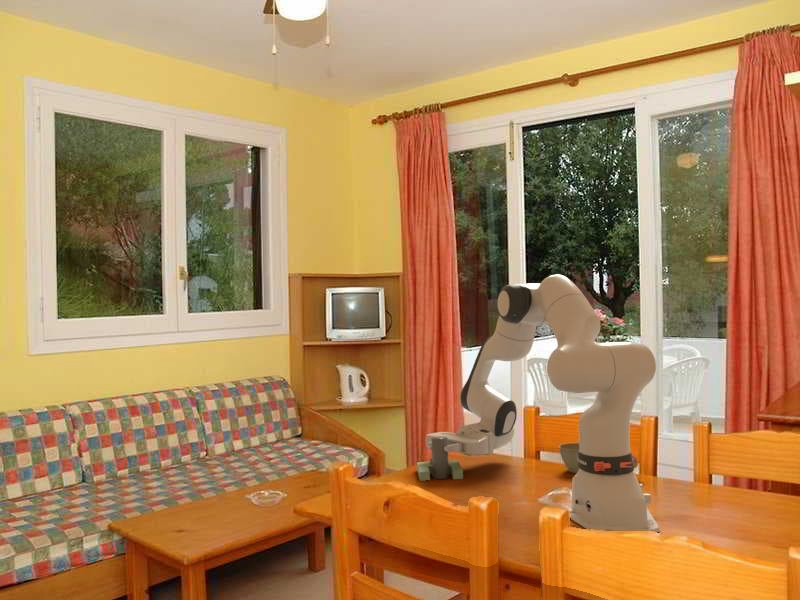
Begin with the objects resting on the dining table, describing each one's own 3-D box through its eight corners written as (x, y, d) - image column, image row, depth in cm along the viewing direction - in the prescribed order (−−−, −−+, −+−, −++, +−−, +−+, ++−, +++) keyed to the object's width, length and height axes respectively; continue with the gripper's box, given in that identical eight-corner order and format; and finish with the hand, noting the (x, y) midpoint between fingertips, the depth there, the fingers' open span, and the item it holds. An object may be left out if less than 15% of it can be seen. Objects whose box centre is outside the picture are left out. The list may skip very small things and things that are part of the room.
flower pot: (592, 466, 208) (592, 442, 208) (598, 475, 198) (598, 449, 198) (557, 467, 209) (556, 442, 209) (562, 475, 199) (561, 450, 199)
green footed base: (463, 478, 200) (462, 466, 200) (420, 480, 199) (419, 467, 199) (457, 468, 212) (457, 456, 212) (417, 470, 211) (416, 458, 211)
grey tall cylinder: (449, 478, 200) (448, 439, 200) (433, 479, 200) (432, 439, 200) (447, 474, 205) (446, 435, 205) (431, 475, 204) (430, 436, 204)
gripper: (444, 425, 219) (411, 432, 209) (496, 432, 204) (463, 440, 194) (445, 445, 219) (412, 453, 209) (497, 455, 204) (464, 464, 194)
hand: (437, 447), depth 202 cm, fingers open, 5 cm apart
